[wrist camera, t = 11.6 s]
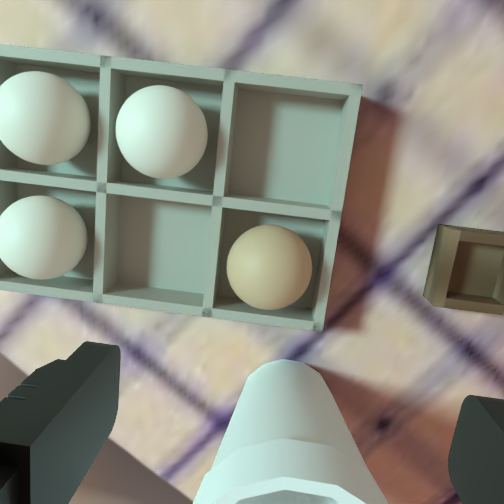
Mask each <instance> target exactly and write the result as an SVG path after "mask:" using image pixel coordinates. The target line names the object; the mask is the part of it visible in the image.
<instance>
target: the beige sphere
mask: <svg viewBox="0 0 504 504" xmlns="http://www.w3.org/2000/svg"><path fill="white" fill-rule="evenodd" d="M227 275H228V279H229V282H230V285H231V287H232V289H233V290H234V292H235V293H236V295H237V296H238V297H239V298H240V299H242V300H243V301H244V302H245V303H247V304H249V305H251V306H253V307H255V308H258V309H263V310H276V309H281V308H284V307H286V306H288V305H290V304H292V303H294V302H295V301H296V300H298V299H299V298H300V297H301V296H302V294H303V293H304V292H305V290H306V288H307V287H308V285H309V282H310V279H311V275H312V260H311V255H310V252H309V250H308V248H307V246H306V244H305V243H304V241H303V240H302V239H301V238H300V237H299V236H298V235H297V234H296V233H294V232H293V231H291V230H290V229H287V228H285V227H282V226H279V225H270V224H268V225H260V226H256V227H253V228H251V229H249V230H247V231H246V232H244V233H243V234H242V235H241V236H240V237H239V238H238V239H237V240H236V241H235V243H234V244H233V246H232V247H231V250H230V252H229V255H228V259H227Z"/></svg>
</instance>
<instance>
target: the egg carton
mask: <svg viewBox="0 0 504 504" xmlns="http://www.w3.org/2000/svg"><path fill="white" fill-rule="evenodd" d="M29 71H41V72H46V73H50V74H53V75H56V76H58V77H60V78H62V79H64V80H65V81H67V82H68V83H70V84H71V85H72V86H73V87H74V88H75V89H76V90H77V91H78V92H79V93H80V95H81V96H82V97H83V99H84V101H85V103H86V105H87V107H88V110H89V113H90V118H91V130H90V135H89V138H88V141H87V143H86V144H85V146H84V147H83V149H82V150H81V151H80V152H79V153H78V154H77V155H76V156H75V157H73V158H71V159H70V160H68V161H65V162H63V163H59V164H54V165H42V164H35V163H32V162H29V161H26V160H24V159H22V158H20V157H18V156H17V155H15V154H14V153H12V152H11V151H10V150H9V149H8V148H7V147H6V146H5V145H4V144H3V143H2V141H1V140H0V216H1V214H2V213H3V212H4V211H5V210H6V209H7V208H8V207H9V206H10V205H11V204H13V203H15V202H16V201H18V200H20V199H23V198H26V197H30V196H39V195H42V196H50V197H55V198H58V199H60V200H62V201H64V202H66V203H68V204H69V205H71V206H72V207H73V208H74V209H75V210H76V211H77V212H78V213H79V214H80V216H81V217H82V219H83V221H84V223H85V225H86V229H87V234H88V242H87V248H86V251H85V253H84V256H83V257H82V259H81V260H80V262H79V263H78V264H77V265H76V266H75V267H74V268H73V269H72V270H70V271H69V272H68V273H66V274H64V275H62V276H59V277H56V278H52V279H43V280H41V279H31V278H27V277H24V276H22V275H19V274H17V273H16V272H14V271H12V270H11V269H10V268H9V267H8V266H7V265H6V264H5V263H4V262H3V261H2V260H1V258H0V290H4V291H12V292H20V293H27V294H35V295H43V296H50V297H58V298H66V299H73V300H81V301H89V302H96V303H104V304H112V305H119V306H127V307H135V308H142V309H150V310H158V311H165V312H173V313H181V314H188V315H196V316H204V317H211V318H219V319H227V320H234V321H242V322H249V323H257V324H265V325H272V326H280V327H288V328H295V329H303V330H311V331H318V332H322V331H323V325H324V319H325V313H326V307H327V300H328V294H329V288H330V282H331V276H332V270H333V264H334V258H335V251H336V245H337V239H338V233H339V227H340V221H341V215H342V209H343V202H344V196H345V190H346V184H347V178H348V172H349V166H350V160H351V153H352V147H353V141H354V135H355V129H356V123H357V117H358V111H359V104H360V98H361V92H362V86H363V84H354V83H345V82H336V81H327V80H318V79H309V78H300V77H291V76H282V75H273V74H264V73H255V72H246V71H237V70H228V69H219V68H210V67H201V66H192V65H184V64H175V63H166V62H157V61H148V60H139V59H130V58H121V57H112V56H103V55H94V54H85V53H76V52H67V51H58V50H49V49H40V48H31V47H22V46H13V45H4V44H0V86H1V85H2V84H3V83H4V82H5V81H6V80H8V79H9V78H11V77H12V76H14V75H17V74H19V73H23V72H29ZM155 85H165V86H170V87H173V88H176V89H179V90H181V91H183V92H184V93H186V94H187V95H189V96H190V97H191V98H192V99H193V100H194V101H195V102H196V103H197V105H198V106H199V107H200V109H201V111H202V113H203V115H204V117H205V120H206V123H207V129H208V140H207V146H206V149H205V152H204V154H203V156H202V158H201V160H200V161H199V162H198V164H197V165H196V166H195V167H194V168H193V169H192V170H190V171H189V172H187V173H185V174H184V175H182V176H179V177H176V178H171V179H158V178H152V177H149V176H147V175H144V174H142V173H141V172H139V171H138V170H136V169H135V168H133V167H132V166H131V165H130V164H129V163H128V162H127V160H126V159H125V158H124V156H123V154H122V153H121V151H120V148H119V146H118V143H117V139H116V120H117V116H118V113H119V111H120V109H121V107H122V105H123V104H124V103H125V101H126V100H127V99H128V98H129V97H130V96H131V95H132V94H134V93H135V92H137V91H138V90H140V89H143V88H145V87H149V86H155ZM268 224H270V225H279V226H282V227H285V228H287V229H290V230H291V231H293V232H294V233H296V234H297V235H298V236H299V237H300V238H301V239H302V240H303V241H304V243H305V244H306V246H307V248H308V250H309V252H310V255H311V260H312V275H311V279H310V282H309V285H308V287H307V288H306V290H305V292H304V293H303V294H302V296H301V297H300V298H299V299H298V300H296V301H295V302H294V303H292V304H290V305H288V306H286V307H284V308H281V309H276V310H263V309H258V308H255V307H253V306H251V305H249V304H247V303H245V302H244V301H243V300H242V299H240V298H239V297H238V296H237V295H236V293H235V292H234V290H233V289H232V287H231V285H230V282H229V279H228V275H227V259H228V255H229V252H230V250H231V247H232V246H233V244H234V243H235V241H236V240H237V239H238V238H239V237H240V236H241V235H242V234H243V233H244V232H246V231H247V230H249V229H251V228H253V227H256V226H260V225H268Z"/></svg>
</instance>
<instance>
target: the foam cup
mask: <svg viewBox="0 0 504 504" xmlns="http://www.w3.org/2000/svg"><path fill="white" fill-rule="evenodd" d="M193 504H389V503H388V501H387V500H386V498H385V496H384V495H383V493H382V491H381V490H380V488H379V486H378V485H377V483H376V481H375V480H374V478H373V476H372V475H371V473H370V471H369V470H368V468H367V466H366V464H365V462H364V460H363V458H362V456H361V454H360V452H359V450H358V448H357V445H356V443H355V441H354V439H353V437H352V435H351V433H350V431H349V429H348V427H347V425H346V423H345V420H344V418H343V416H342V414H341V412H340V410H339V408H338V406H337V404H336V402H335V400H334V398H333V395H332V393H331V392H330V390H329V388H328V386H327V385H326V383H325V381H324V380H323V378H322V376H321V375H320V373H319V372H317V371H316V370H314V369H313V368H311V367H310V366H308V365H306V364H305V363H303V362H298V361H292V360H286V359H281V360H277V361H273V362H270V363H266V364H263V365H262V366H261V367H259V368H258V369H257V370H256V371H255V372H253V373H252V374H251V375H250V376H249V377H248V379H247V381H246V384H245V386H244V388H243V391H242V393H241V396H240V398H239V400H238V403H237V405H236V408H235V410H234V413H233V415H232V418H231V420H230V423H229V425H228V428H227V430H226V433H225V435H224V438H223V440H222V443H221V445H220V448H219V450H218V453H217V455H216V458H215V460H214V463H213V465H212V468H211V470H210V471H209V472H208V473H207V474H205V476H204V478H203V481H202V483H201V485H200V488H199V490H198V492H197V495H196V497H195V499H194V502H193Z"/></svg>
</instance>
